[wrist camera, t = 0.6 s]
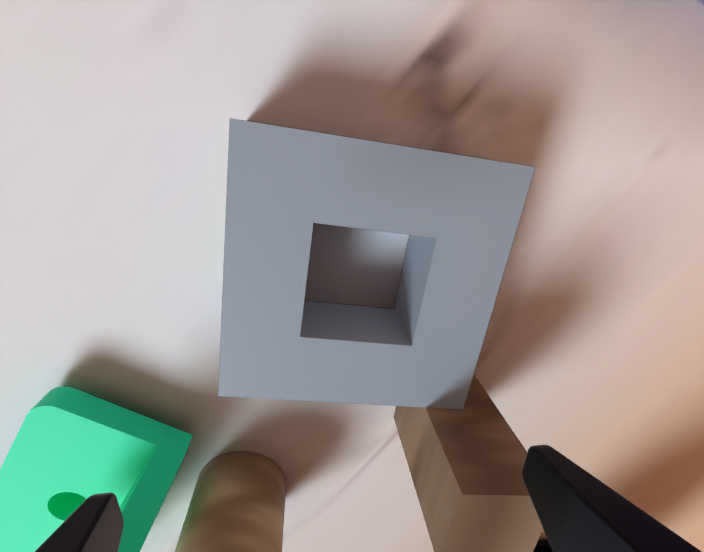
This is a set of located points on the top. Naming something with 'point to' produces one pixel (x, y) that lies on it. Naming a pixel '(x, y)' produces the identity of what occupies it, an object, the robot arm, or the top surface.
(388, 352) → the socket block
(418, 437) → the square peg
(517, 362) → the top surface
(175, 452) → the green angle bracket
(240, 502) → the round dowel
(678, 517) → the top surface
